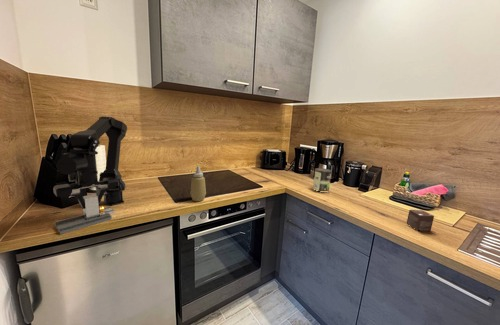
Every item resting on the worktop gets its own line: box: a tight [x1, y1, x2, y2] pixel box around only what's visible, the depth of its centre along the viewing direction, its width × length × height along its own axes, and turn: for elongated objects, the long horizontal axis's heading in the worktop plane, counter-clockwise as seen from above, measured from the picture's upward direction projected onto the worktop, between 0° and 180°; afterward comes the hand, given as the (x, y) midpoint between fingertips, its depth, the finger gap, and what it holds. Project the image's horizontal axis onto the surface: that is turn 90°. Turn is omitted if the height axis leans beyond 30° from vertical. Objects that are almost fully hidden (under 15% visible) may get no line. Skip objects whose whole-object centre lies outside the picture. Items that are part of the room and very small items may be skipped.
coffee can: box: [312, 167, 333, 192], centre depth 130 cm, size 10×10×14 cm
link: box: [82, 193, 116, 220], centre depth 78 cm, size 9×5×8 cm, turn 143°
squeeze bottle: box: [189, 165, 207, 202], centre depth 102 cm, size 8×8×18 cm
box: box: [406, 209, 435, 232], centre depth 85 cm, size 6×6×7 cm
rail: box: [54, 205, 112, 235], centre depth 75 cm, size 15×9×4 cm, turn 143°
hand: (90, 206), depth 76 cm, fingers closed on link, 4 cm apart
